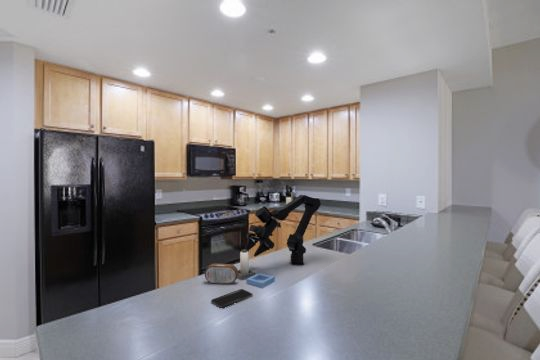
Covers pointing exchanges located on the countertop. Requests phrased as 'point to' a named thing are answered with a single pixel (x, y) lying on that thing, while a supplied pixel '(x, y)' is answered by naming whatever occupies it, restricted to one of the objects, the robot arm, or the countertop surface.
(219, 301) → the phone
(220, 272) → the tin
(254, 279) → the blue bezel socket
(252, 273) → the gray socket
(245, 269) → the cream canister charcoal lid
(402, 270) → the countertop surface
